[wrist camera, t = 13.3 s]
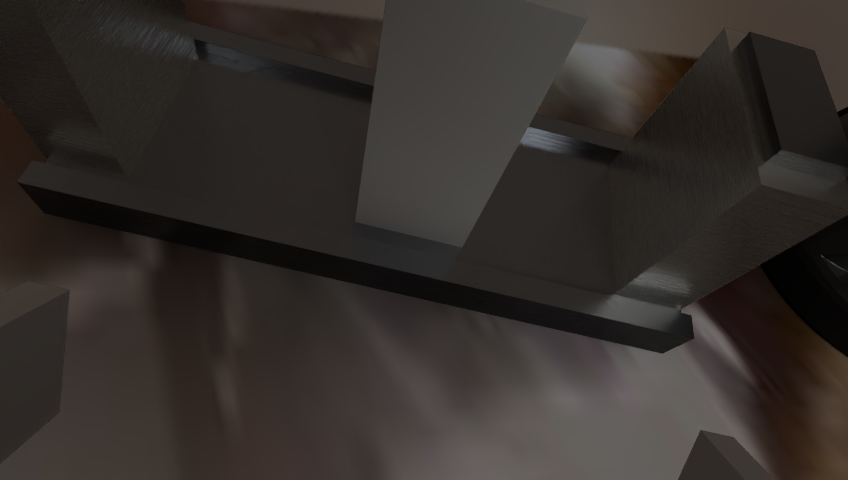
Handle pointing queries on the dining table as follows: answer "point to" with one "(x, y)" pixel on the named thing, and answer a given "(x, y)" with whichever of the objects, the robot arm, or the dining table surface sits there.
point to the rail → (344, 154)
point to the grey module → (455, 106)
